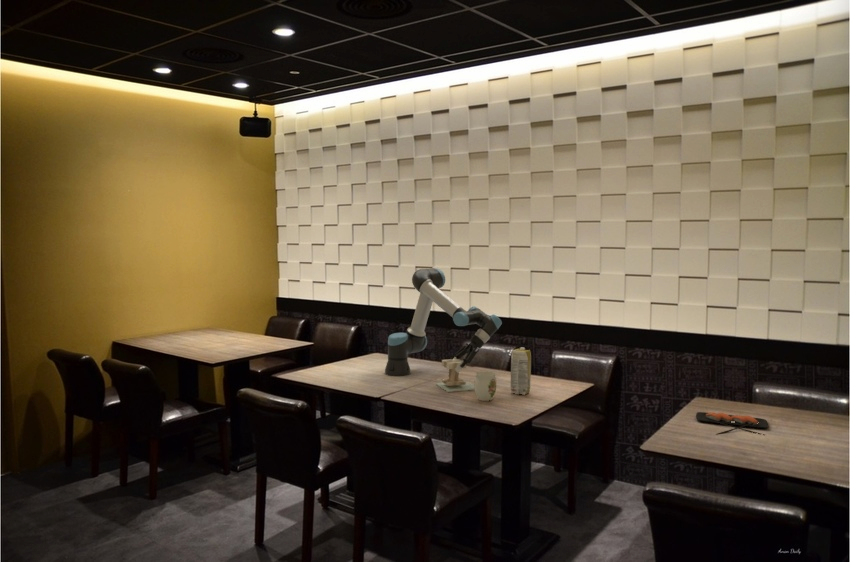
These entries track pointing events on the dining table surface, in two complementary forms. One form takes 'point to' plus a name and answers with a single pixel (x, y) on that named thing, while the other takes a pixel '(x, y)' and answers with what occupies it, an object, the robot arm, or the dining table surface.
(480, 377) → the cream mug
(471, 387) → the mat
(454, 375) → the stool
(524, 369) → the juice carton
